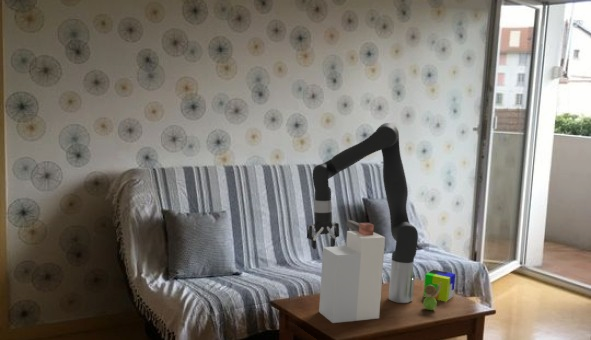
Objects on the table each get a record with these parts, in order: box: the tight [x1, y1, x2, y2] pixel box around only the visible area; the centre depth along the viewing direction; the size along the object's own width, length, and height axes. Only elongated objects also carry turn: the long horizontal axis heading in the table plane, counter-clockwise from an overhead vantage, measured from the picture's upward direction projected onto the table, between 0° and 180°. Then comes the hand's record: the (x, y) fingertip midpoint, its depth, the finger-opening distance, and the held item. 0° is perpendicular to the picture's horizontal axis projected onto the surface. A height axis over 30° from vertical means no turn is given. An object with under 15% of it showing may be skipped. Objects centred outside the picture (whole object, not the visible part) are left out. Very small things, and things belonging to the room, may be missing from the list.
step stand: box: [318, 230, 386, 324], centre depth 239 cm, size 20×12×32 cm, turn 113°
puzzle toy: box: [423, 269, 456, 302], centre depth 270 cm, size 10×10×10 cm
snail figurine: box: [422, 282, 441, 311], centre depth 251 cm, size 5×6×12 cm
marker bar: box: [345, 219, 375, 236], centre depth 244 cm, size 4×16×4 cm, turn 23°
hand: (323, 247), depth 266 cm, fingers open, 8 cm apart
